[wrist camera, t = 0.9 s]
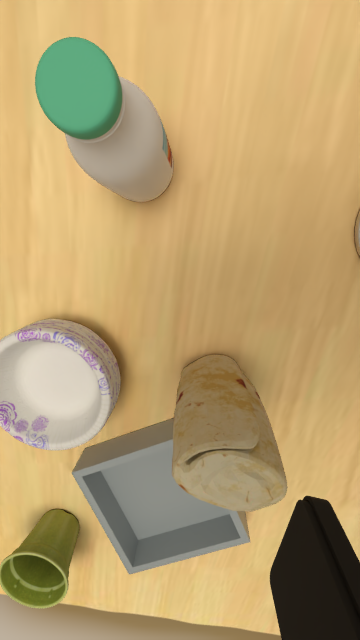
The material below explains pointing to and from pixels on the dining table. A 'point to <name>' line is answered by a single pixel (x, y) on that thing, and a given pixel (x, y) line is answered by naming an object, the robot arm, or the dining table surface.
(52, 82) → the milk bottle
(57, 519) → the plant pot
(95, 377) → the paper bowls
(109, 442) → the bin
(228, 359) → the food model
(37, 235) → the dining table surface
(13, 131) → the dining table surface
